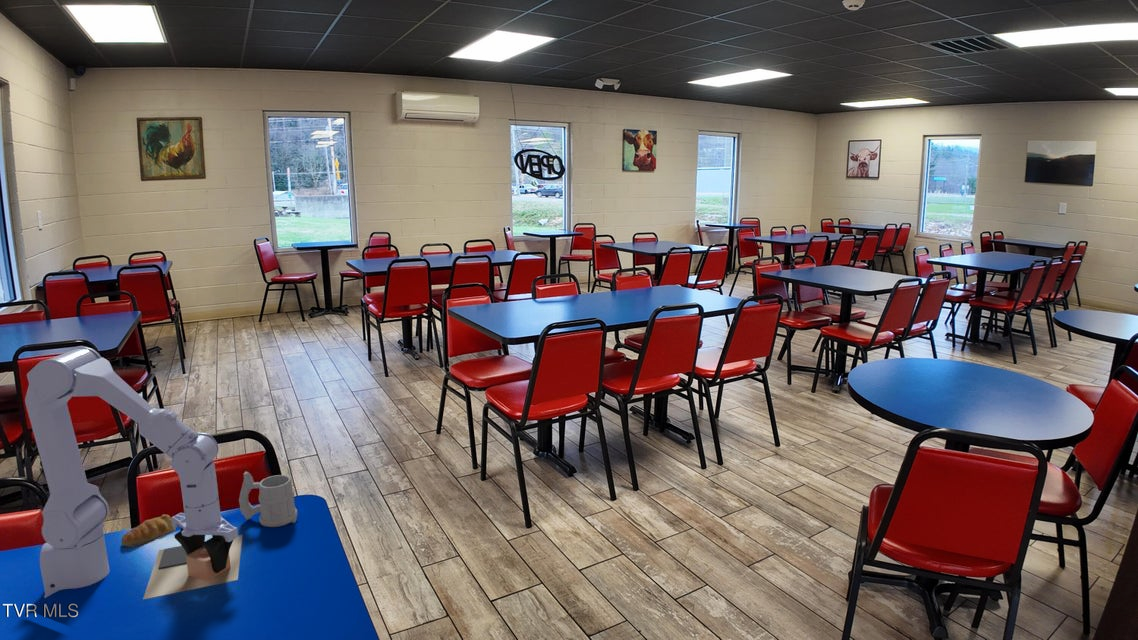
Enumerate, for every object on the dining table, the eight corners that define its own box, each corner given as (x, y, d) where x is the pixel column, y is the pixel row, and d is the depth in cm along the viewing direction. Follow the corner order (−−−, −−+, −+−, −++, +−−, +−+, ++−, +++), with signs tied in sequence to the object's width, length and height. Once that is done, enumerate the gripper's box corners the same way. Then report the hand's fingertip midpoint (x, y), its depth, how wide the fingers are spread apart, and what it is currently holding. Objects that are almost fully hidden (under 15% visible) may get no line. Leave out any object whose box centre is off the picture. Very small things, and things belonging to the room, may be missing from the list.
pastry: (129, 554, 132) (126, 536, 132) (117, 542, 137) (114, 525, 136) (179, 534, 140) (177, 518, 139) (166, 524, 144) (164, 508, 143)
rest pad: (158, 569, 125) (158, 567, 125) (164, 550, 132) (164, 549, 131) (200, 561, 128) (200, 559, 128) (204, 543, 134) (204, 541, 134)
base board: (143, 604, 117) (142, 599, 116) (159, 554, 132) (159, 550, 132) (238, 584, 122) (237, 579, 122) (242, 539, 138) (242, 534, 137)
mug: (291, 531, 141) (286, 479, 138) (234, 533, 140) (228, 480, 137) (303, 513, 148) (298, 463, 146) (248, 515, 147) (243, 465, 145)
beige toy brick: (188, 575, 123) (185, 552, 122) (211, 561, 128) (208, 538, 127) (207, 581, 121) (204, 558, 120) (230, 567, 126) (228, 544, 125)
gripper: (153, 503, 121) (162, 569, 123) (211, 518, 115) (219, 587, 118) (187, 486, 127) (195, 550, 130) (244, 500, 122) (251, 566, 125)
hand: (209, 566), depth 124 cm, fingers closed on beige toy brick, 5 cm apart
